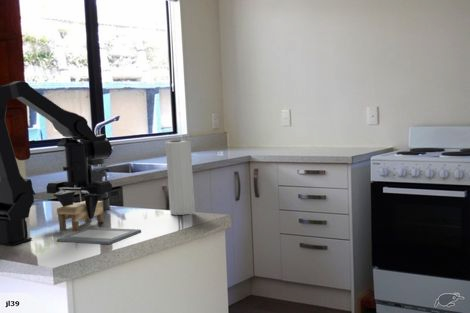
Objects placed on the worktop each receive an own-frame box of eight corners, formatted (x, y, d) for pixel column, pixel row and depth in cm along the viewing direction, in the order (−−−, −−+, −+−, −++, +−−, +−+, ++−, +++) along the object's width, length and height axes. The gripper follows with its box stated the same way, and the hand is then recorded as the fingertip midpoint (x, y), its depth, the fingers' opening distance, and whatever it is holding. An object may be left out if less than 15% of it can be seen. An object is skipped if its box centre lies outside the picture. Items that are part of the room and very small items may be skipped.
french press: (76, 209, 191) (70, 139, 189) (104, 205, 196) (99, 136, 193) (86, 214, 181) (79, 140, 179) (115, 210, 185) (110, 137, 183)
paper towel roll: (167, 213, 174) (162, 141, 172) (187, 210, 176) (182, 139, 175) (175, 217, 168) (170, 142, 166) (195, 214, 170) (190, 140, 168)
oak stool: (76, 231, 156) (74, 208, 156) (58, 230, 159) (56, 208, 158) (104, 221, 167) (102, 200, 166) (87, 221, 169) (86, 200, 169)
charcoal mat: (109, 244, 138) (109, 241, 138) (57, 241, 145) (56, 238, 145) (141, 231, 150) (140, 229, 150) (91, 229, 157) (91, 227, 157)
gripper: (122, 158, 164) (126, 213, 166) (70, 159, 172) (74, 211, 174) (96, 163, 154) (101, 221, 156) (42, 163, 162) (47, 219, 164)
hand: (81, 218), depth 163 cm, fingers open, 7 cm apart
